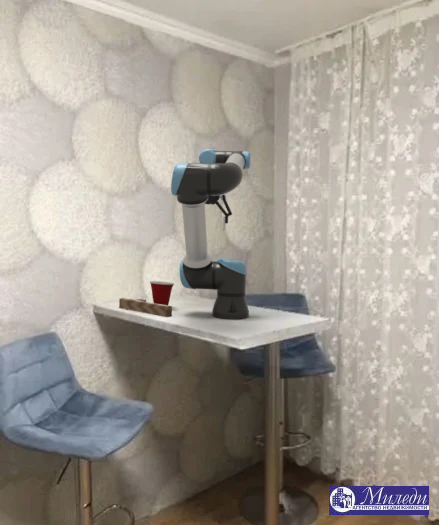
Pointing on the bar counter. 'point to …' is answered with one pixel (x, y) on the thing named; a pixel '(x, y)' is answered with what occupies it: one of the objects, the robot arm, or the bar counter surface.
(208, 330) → the bar counter surface
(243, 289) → the robot arm
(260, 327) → the bar counter surface
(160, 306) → the rail
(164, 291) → the plastic cup
